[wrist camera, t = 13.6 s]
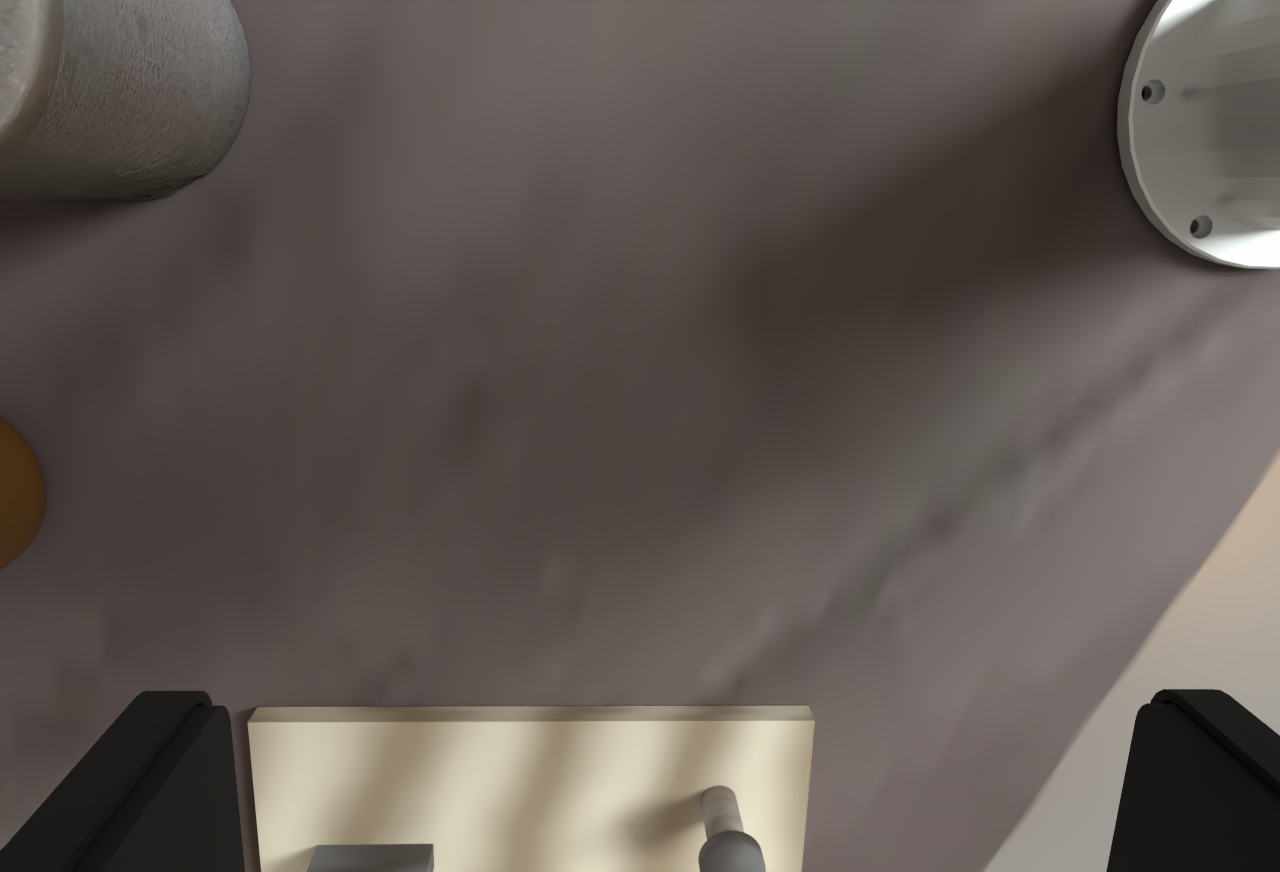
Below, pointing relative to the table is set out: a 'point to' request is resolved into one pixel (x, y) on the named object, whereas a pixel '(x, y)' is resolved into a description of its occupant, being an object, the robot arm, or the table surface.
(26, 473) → the mug
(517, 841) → the board
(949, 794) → the table surface
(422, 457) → the table surface
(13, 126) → the pillar candle
